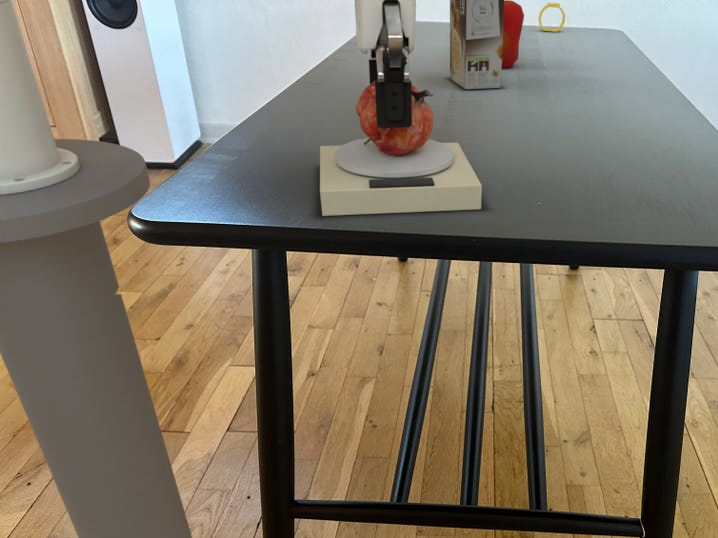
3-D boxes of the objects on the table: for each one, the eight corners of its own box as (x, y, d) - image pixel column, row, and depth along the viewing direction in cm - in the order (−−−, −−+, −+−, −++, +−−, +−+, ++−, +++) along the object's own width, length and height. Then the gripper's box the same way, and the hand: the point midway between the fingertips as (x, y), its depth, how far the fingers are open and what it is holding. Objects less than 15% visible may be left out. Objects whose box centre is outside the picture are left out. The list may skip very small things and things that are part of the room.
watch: (538, 32, 161) (540, 3, 157) (537, 30, 163) (539, 2, 160) (564, 32, 161) (566, 4, 158) (562, 30, 163) (565, 2, 160)
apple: (498, 59, 130) (500, -11, 124) (531, 66, 126) (535, -6, 119) (465, 65, 125) (466, -9, 119) (498, 72, 120) (501, -4, 114)
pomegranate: (352, 179, 69) (412, 132, 62) (322, 111, 69) (379, 56, 62) (404, 170, 74) (464, 126, 67) (376, 106, 74) (435, 55, 67)
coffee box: (502, 88, 110) (507, -27, 101) (464, 90, 108) (466, -27, 99) (483, 76, 117) (486, -32, 108) (447, 78, 116) (447, -32, 107)
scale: (322, 216, 64) (318, 181, 62) (322, 167, 75) (319, 137, 73) (481, 209, 66) (482, 175, 65) (457, 163, 78) (458, 134, 76)
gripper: (336, -99, 65) (348, 92, 74) (341, -97, 50) (354, 139, 60) (416, -95, 66) (418, 92, 75) (442, -92, 52) (440, 138, 61)
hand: (390, 113), depth 68 cm, fingers open, 9 cm apart
